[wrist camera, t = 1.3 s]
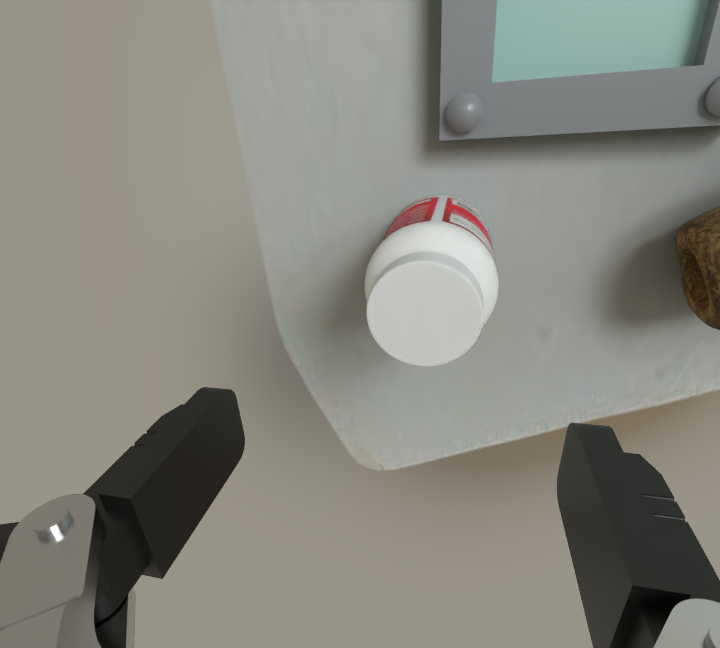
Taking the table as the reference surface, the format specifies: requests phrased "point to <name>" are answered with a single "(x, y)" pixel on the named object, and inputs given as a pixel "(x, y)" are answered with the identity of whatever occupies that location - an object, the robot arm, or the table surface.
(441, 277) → the pill bottle
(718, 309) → the brown textured cylinder
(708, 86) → the base plate
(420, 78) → the table surface
